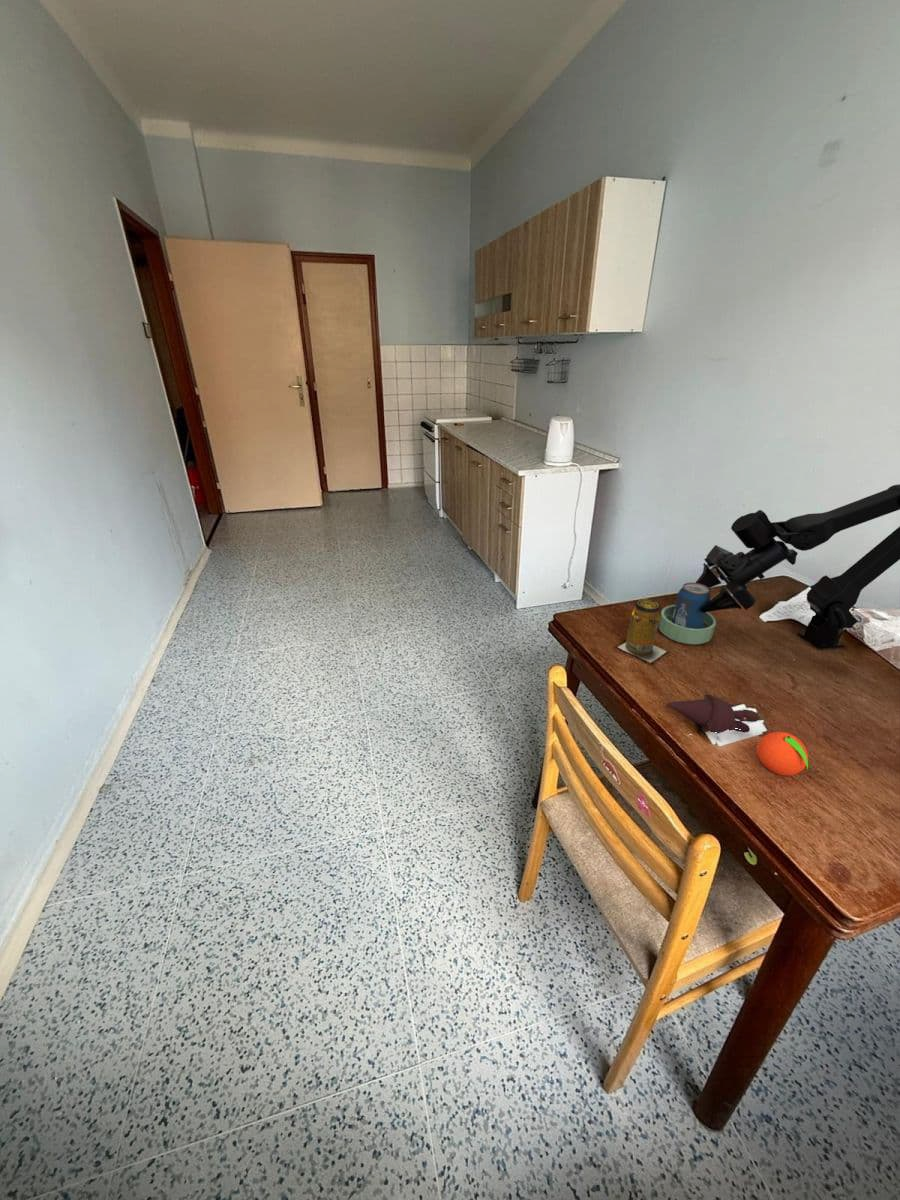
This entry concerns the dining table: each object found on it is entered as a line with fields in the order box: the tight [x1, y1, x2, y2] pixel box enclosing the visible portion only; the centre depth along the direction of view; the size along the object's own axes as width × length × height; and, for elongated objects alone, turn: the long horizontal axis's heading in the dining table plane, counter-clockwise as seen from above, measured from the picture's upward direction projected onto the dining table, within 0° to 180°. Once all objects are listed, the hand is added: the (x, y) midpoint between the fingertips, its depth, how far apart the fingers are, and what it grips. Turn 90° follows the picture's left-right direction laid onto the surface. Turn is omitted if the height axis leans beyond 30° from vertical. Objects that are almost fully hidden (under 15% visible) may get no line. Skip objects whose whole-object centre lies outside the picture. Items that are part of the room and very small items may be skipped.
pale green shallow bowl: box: [658, 604, 717, 645], centre depth 117 cm, size 12×12×4 cm
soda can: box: [672, 582, 712, 629], centre depth 115 cm, size 7×7×12 cm
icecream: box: [666, 694, 761, 734], centre depth 87 cm, size 7×7×15 cm
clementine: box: [756, 731, 809, 776], centre depth 78 cm, size 8×7×7 cm
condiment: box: [617, 598, 668, 664], centre depth 108 cm, size 7×8×12 cm
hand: (695, 601), depth 113 cm, fingers open, 9 cm apart
